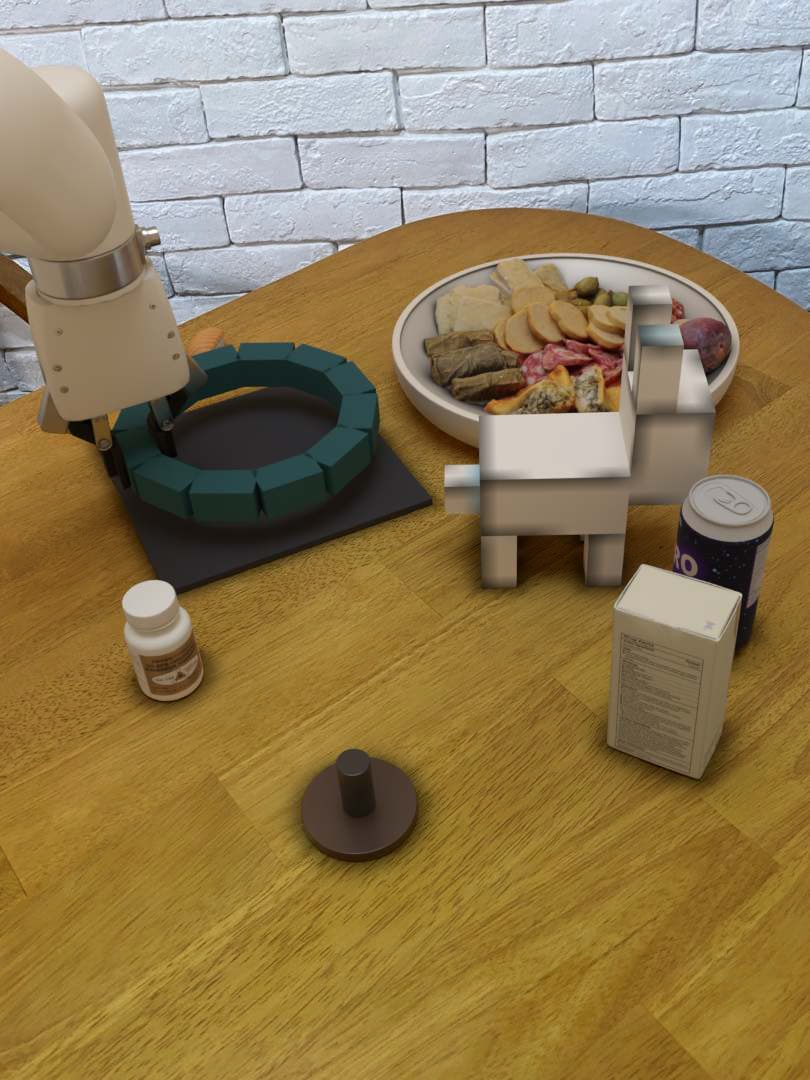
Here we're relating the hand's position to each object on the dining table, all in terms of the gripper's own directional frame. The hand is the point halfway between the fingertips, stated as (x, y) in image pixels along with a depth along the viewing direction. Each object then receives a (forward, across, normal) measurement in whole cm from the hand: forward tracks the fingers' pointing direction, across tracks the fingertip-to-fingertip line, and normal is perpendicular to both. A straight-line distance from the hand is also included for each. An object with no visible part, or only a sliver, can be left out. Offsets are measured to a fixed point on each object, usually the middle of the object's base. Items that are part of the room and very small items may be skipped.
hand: (143, 470), depth 89 cm
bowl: (+4, -38, +1) cm, 38 cm away
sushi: (+4, -11, -19) cm, 22 cm away
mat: (+4, -9, 0) cm, 10 cm away
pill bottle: (+4, +4, +19) cm, 20 cm away
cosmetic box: (+4, -22, +39) cm, 45 cm away
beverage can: (+4, -30, +33) cm, 45 cm away
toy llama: (+4, -26, +21) cm, 34 cm away
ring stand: (+3, -3, +35) cm, 35 cm away
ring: (0, -9, 0) cm, 9 cm away
